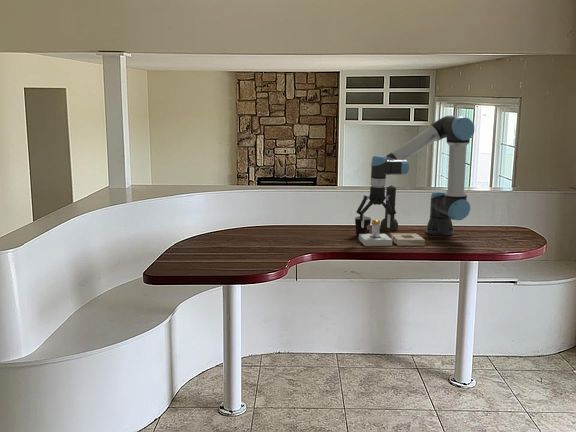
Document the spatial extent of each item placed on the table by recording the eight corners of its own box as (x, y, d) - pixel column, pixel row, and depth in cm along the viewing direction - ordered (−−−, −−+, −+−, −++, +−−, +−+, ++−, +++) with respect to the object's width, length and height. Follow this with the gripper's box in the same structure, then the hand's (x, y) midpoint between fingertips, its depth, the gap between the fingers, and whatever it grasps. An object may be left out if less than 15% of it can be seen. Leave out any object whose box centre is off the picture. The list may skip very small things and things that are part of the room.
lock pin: (370, 241, 330) (371, 219, 328) (377, 241, 330) (378, 219, 328) (372, 243, 326) (373, 221, 324) (379, 243, 326) (380, 221, 324)
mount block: (358, 239, 334) (358, 233, 333) (384, 239, 336) (385, 233, 335) (364, 246, 320) (365, 240, 320) (392, 245, 322) (392, 240, 321)
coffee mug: (360, 238, 336) (360, 220, 334) (351, 235, 344) (351, 217, 342) (378, 236, 341) (378, 218, 339) (368, 233, 349) (369, 215, 347)
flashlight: (376, 228, 362) (387, 231, 353) (378, 184, 357) (390, 187, 348) (390, 226, 367) (401, 230, 358) (392, 183, 362) (404, 186, 353)
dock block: (390, 239, 336) (390, 233, 335) (415, 238, 338) (416, 233, 337) (397, 245, 322) (398, 239, 322) (424, 245, 324) (424, 239, 323)
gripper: (355, 187, 317) (353, 228, 321) (403, 187, 320) (401, 228, 324) (352, 184, 324) (350, 225, 329) (399, 185, 327) (397, 225, 332)
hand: (375, 227), depth 326 cm, fingers open, 13 cm apart
